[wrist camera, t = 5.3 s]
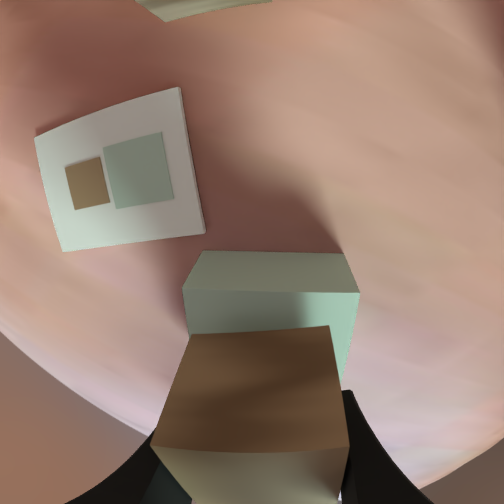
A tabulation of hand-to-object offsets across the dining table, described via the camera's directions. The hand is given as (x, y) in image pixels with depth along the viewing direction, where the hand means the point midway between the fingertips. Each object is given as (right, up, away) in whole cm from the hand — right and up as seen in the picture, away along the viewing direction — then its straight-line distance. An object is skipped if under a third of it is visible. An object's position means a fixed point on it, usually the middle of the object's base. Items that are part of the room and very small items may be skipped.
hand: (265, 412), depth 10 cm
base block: (+1, +3, +6) cm, 7 cm away
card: (-8, +10, +4) cm, 13 cm away
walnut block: (0, +1, +1) cm, 2 cm away
